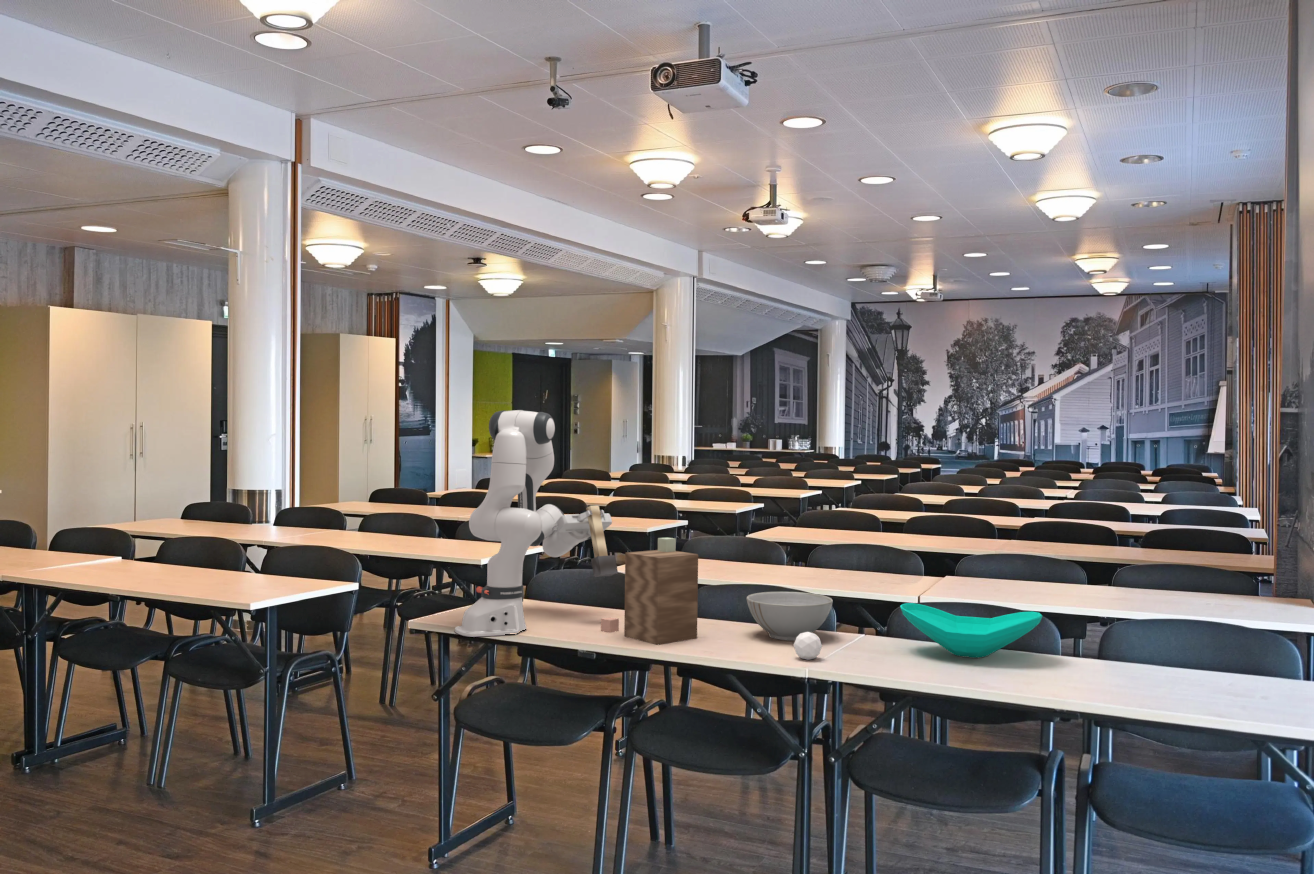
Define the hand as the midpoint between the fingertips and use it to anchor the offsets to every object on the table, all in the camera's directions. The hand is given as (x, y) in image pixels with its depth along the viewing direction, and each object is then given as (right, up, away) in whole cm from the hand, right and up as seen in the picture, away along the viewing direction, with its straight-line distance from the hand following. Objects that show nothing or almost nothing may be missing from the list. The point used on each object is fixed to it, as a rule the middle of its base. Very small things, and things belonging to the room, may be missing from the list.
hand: (596, 512), depth 350 cm
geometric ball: (+63, -38, -53) cm, 91 cm away
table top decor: (+111, -39, -46) cm, 126 cm away
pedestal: (+21, -37, -25) cm, 50 cm away
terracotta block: (+4, -35, -15) cm, 38 cm away
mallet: (0, -10, 0) cm, 10 cm away
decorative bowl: (+62, -38, -22) cm, 75 cm away
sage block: (+23, -11, -19) cm, 32 cm away
